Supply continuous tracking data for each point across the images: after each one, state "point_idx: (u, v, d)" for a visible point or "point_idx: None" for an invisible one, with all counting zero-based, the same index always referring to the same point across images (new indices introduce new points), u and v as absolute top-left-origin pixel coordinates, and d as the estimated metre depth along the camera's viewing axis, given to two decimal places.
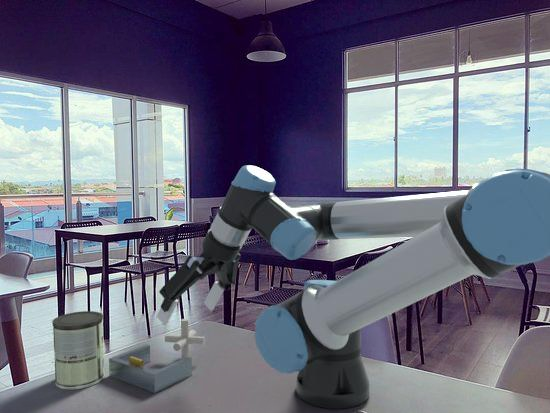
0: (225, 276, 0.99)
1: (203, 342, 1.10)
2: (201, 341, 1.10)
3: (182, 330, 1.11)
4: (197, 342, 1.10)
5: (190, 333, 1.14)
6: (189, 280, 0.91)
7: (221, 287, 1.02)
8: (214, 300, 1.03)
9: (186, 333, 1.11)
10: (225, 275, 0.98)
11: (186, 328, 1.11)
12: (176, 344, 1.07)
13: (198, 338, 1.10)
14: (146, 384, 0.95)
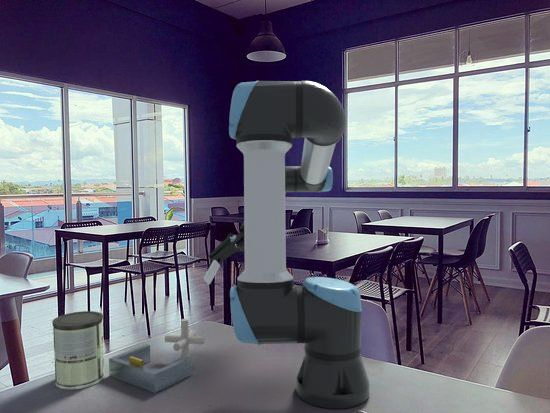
0: None
1: (203, 342, 1.10)
2: (201, 340, 1.10)
3: (182, 330, 1.11)
4: (197, 342, 1.10)
5: (190, 333, 1.14)
6: None
7: None
8: None
9: (186, 333, 1.11)
10: None
11: (186, 328, 1.11)
12: (176, 344, 1.07)
13: (198, 338, 1.10)
14: (146, 384, 0.95)
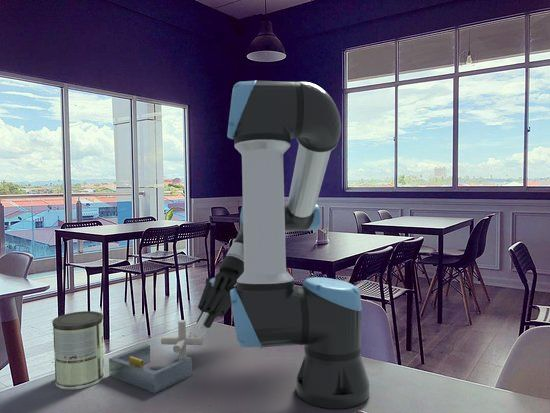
0: (219, 297, 1.20)
1: (202, 342, 1.10)
2: (200, 341, 1.09)
3: (180, 331, 1.09)
4: (195, 343, 1.09)
5: (186, 334, 1.13)
6: None
7: None
8: None
9: (184, 334, 1.10)
10: (220, 296, 1.21)
11: (184, 329, 1.10)
12: (176, 346, 1.05)
13: (196, 339, 1.10)
14: (146, 384, 0.95)
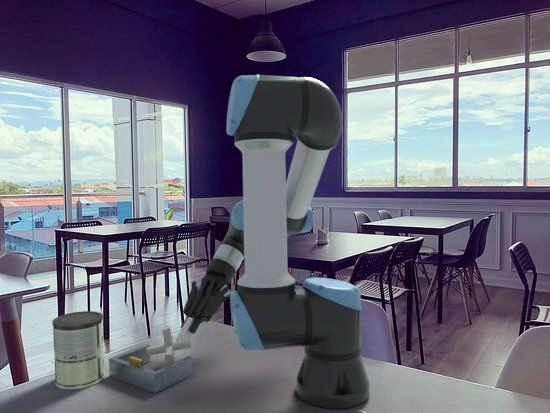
0: (204, 302, 1.16)
1: (190, 345, 1.06)
2: (189, 344, 1.06)
3: (166, 339, 1.05)
4: (184, 347, 1.06)
5: None
6: None
7: None
8: None
9: (170, 341, 1.05)
10: (205, 300, 1.16)
11: (170, 336, 1.05)
12: (167, 355, 1.01)
13: (184, 342, 1.06)
14: (146, 384, 0.95)
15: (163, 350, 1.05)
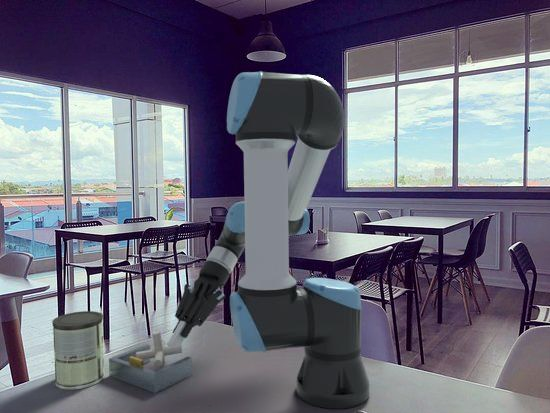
0: (197, 305, 1.13)
1: (181, 350, 1.03)
2: (179, 349, 1.03)
3: (156, 344, 1.02)
4: (175, 352, 1.03)
5: (161, 344, 1.05)
6: None
7: None
8: None
9: (160, 346, 1.02)
10: (198, 303, 1.13)
11: (160, 340, 1.02)
12: (157, 360, 0.98)
13: (175, 347, 1.03)
14: (146, 384, 0.95)
15: (153, 355, 1.02)
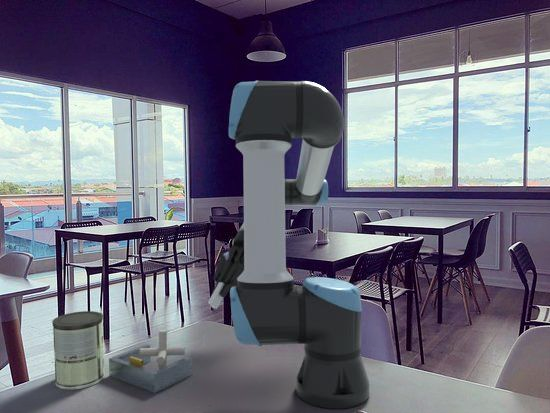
0: (233, 268, 1.24)
1: (184, 352, 1.04)
2: (183, 351, 1.03)
3: (161, 342, 1.03)
4: (178, 353, 1.03)
5: None
6: None
7: None
8: None
9: (165, 345, 1.03)
10: (234, 267, 1.24)
11: (165, 339, 1.03)
12: (160, 357, 0.99)
13: (179, 349, 1.03)
14: (146, 384, 0.95)
15: (156, 353, 1.02)
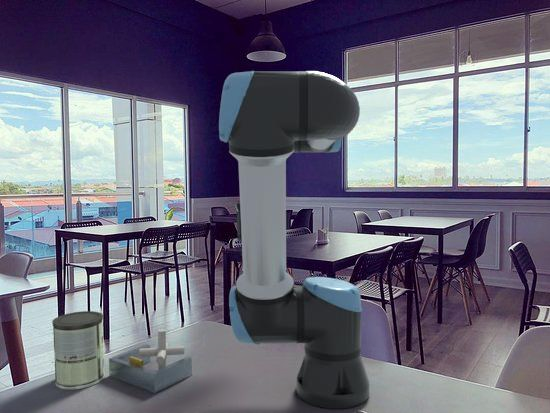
0: None
1: (184, 352, 1.04)
2: (182, 350, 1.03)
3: (160, 342, 1.03)
4: (177, 352, 1.03)
5: None
6: None
7: None
8: None
9: (164, 344, 1.03)
10: None
11: (164, 339, 1.03)
12: (159, 357, 0.99)
13: (178, 348, 1.04)
14: (146, 384, 0.95)
15: (156, 353, 1.02)
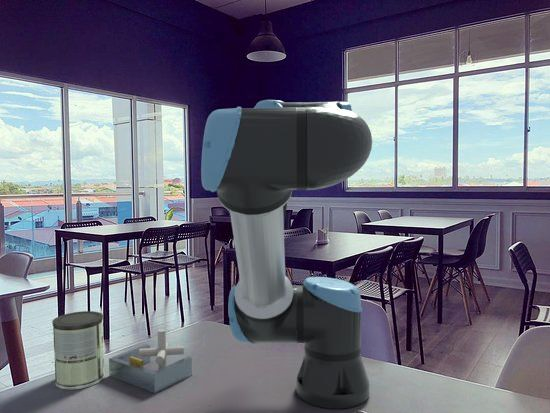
0: None
1: (183, 352, 1.04)
2: (182, 350, 1.03)
3: (160, 342, 1.03)
4: (177, 352, 1.03)
5: None
6: None
7: None
8: None
9: (164, 344, 1.03)
10: None
11: (164, 339, 1.03)
12: (159, 357, 0.99)
13: (178, 348, 1.03)
14: (146, 384, 0.95)
15: (156, 353, 1.02)
